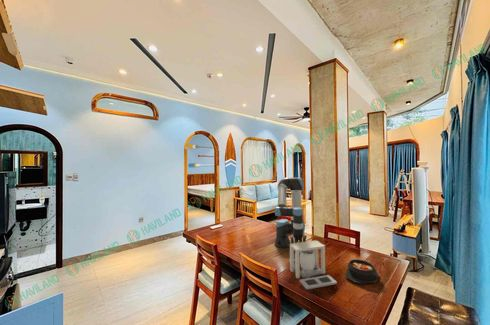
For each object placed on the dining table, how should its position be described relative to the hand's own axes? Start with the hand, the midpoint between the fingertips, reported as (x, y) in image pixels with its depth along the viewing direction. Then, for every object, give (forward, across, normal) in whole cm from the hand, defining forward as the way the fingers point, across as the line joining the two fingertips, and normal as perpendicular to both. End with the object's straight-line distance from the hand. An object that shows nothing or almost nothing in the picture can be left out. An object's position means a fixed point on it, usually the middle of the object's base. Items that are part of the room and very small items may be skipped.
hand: (298, 257), depth 152 cm
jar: (+4, 0, -13) cm, 13 cm away
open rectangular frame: (+4, 0, -19) cm, 19 cm away
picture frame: (+3, 0, -9) cm, 9 cm away
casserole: (+4, +32, -28) cm, 42 cm away
